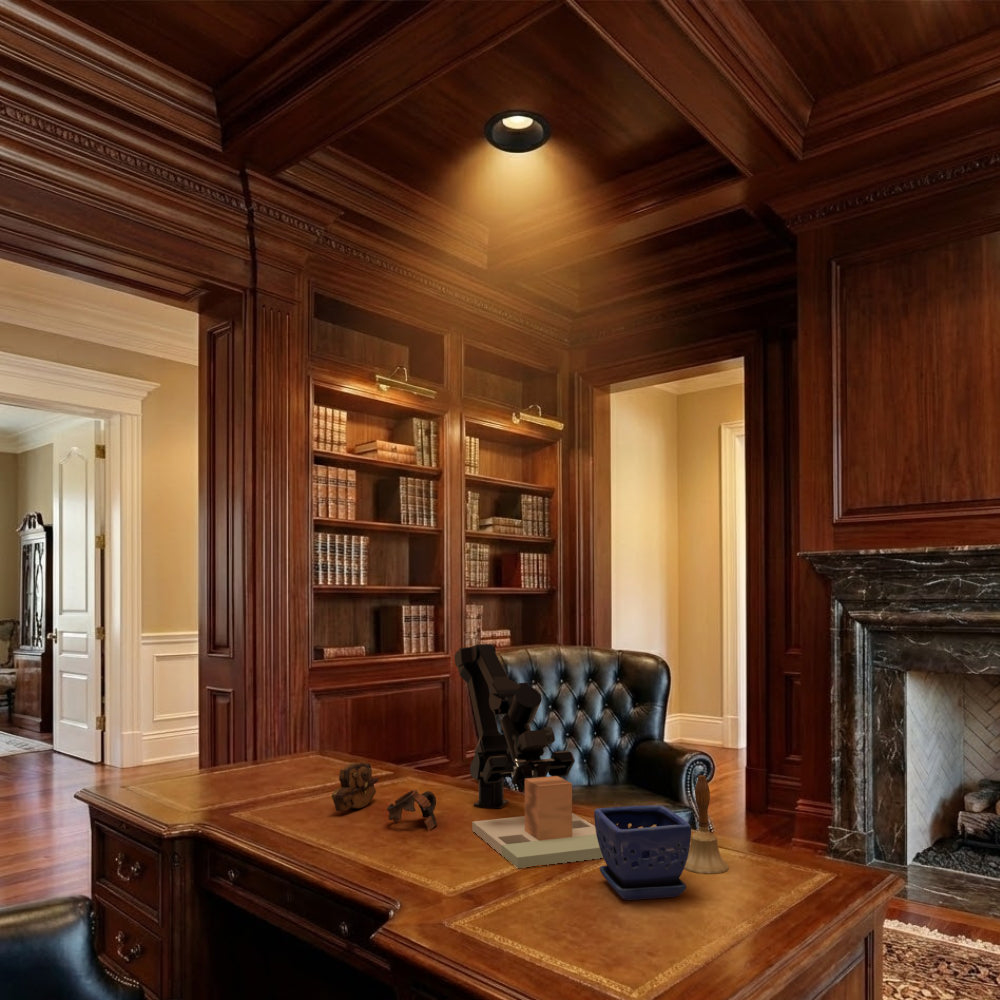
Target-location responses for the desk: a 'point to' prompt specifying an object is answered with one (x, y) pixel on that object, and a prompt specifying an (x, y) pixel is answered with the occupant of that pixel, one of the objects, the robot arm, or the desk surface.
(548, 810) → the terracotta block
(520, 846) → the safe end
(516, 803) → the desk surface
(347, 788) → the wooden carving
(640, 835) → the flower pot
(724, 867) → the hand bell
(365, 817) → the desk surface
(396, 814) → the brown arched piece
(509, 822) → the plate
